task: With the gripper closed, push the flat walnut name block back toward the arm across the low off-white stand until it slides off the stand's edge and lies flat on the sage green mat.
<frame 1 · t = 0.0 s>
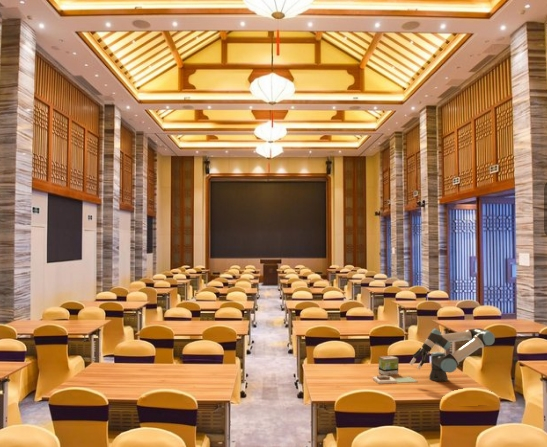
hand: (414, 366, 405), 15 cm above the table, tool tilted 35°, fingers open, 13 cm apart
name block: (383, 378, 416), point 2 cm above the table, touching stand
stand: (384, 380, 416), on the table
mat: (404, 380, 419), on the table
tea box: (388, 373, 440), on the table
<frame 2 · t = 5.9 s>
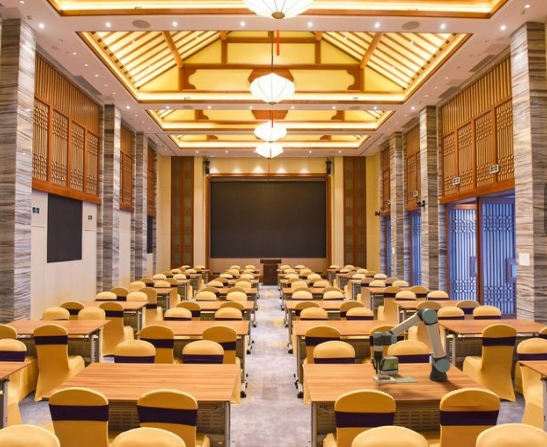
hand: (378, 377, 415), 3 cm above the table, tool pointing down, fingers closed
nothing on the table moved.
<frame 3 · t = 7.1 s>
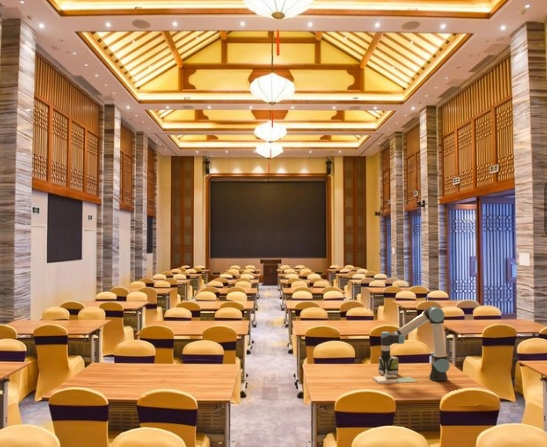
hand: (385, 377, 416), 3 cm above the table, tool pointing down, fingers closed
name block: (391, 378, 417), point 2 cm above the table, touching gripper, stand
everything else where it was.
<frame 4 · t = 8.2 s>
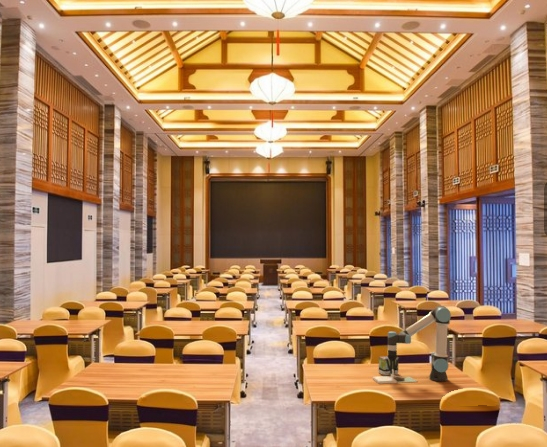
hand: (392, 377, 417), 3 cm above the table, tool pointing down, fingers closed
name block: (397, 378, 418), point 1 cm above the table, tilted 10°, touching gripper, mat, stand
everything else where it was.
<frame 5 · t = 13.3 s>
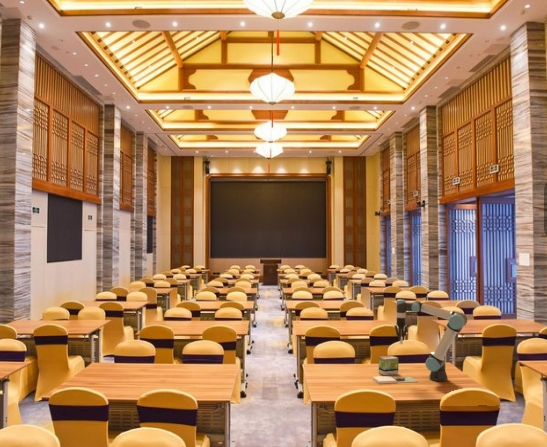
hand: (401, 344, 428), 29 cm above the table, tool pointing down, fingers closed
name block: (398, 379, 418), resting on mat
everything else where it was.
at the end: name block inside the target area on the mat (5.1 cm from its centre), point 0.4 cm above the mat's base; name block resting on mat; name block tilted 0° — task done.
